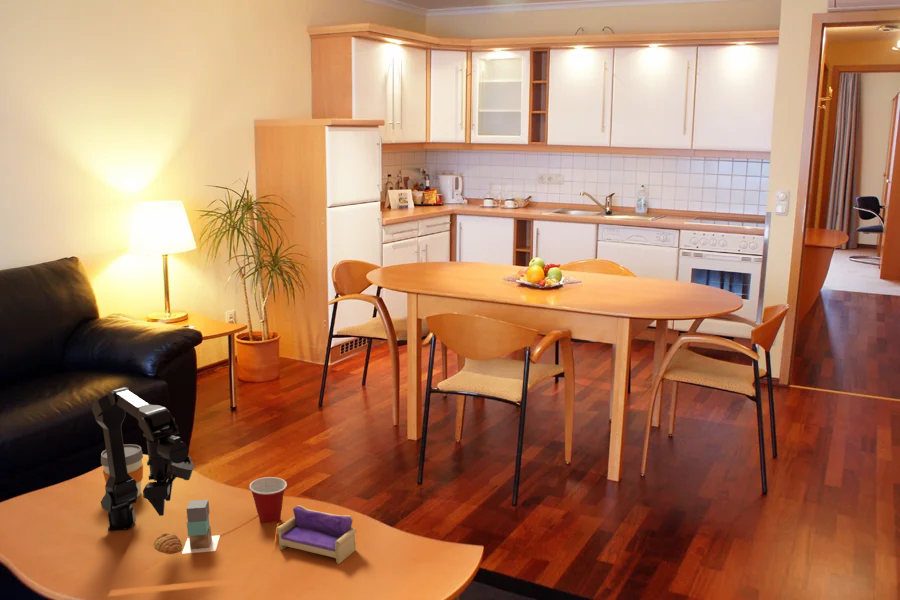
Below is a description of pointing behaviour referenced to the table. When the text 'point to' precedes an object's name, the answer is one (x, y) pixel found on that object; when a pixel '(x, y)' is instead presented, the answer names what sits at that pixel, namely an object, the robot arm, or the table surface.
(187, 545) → the base plate
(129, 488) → the robot arm
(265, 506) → the plastic cup
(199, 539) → the walnut brick
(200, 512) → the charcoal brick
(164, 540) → the pastry
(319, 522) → the toy sofa
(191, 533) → the teal brick
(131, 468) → the reusable coffee cup
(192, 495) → the table surface
